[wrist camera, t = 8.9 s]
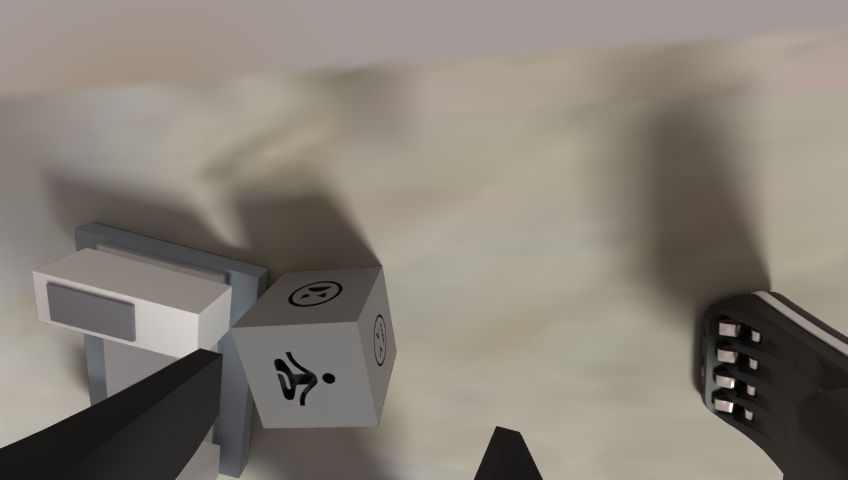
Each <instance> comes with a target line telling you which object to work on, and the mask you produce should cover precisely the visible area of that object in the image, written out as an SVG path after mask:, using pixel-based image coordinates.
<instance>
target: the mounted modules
mask: <svg viewBox="0 0 848 480" xmlns="http://www.w3.org/2000/svg"><path fill="white" fill-rule="evenodd" d="M32 274H33V281H34V288H35V295H36V302H37V309H38V316H39V321H40V322H44V323H48V324H51V325H55V326H59V327H63V328H67V329H70V330H74V331H78V332H82V333H86V334H89V335H93V336H97V337H101V338H105V339H108V340H112V341H116V342H120V343H124V344H128V345H131V346H135V347H139V348H143V349H147V350H150V351H154V352H158V353H162V354H166V355H169V356H173V357H177V358H183V357H184V356H186V355H188V354H190V353H192V352H194V351H196V350H198V349H199V348H202V349H206V350H210V349H211V348H212V347H213V346H214V345H215V344H216V343H217V342H218V341H219V340H220V339H221V337H222V336H223V335H224V334H225V333H226V332H227V331H228V330H229V321H230V308H231V294H232V286H230V285H226V284H222V283H218V282H214V281H211V280H207V279H203V278H199V277H195V276H192V275H188V274H184V273H180V272H176V271H173V270H169V269H165V268H161V267H157V266H154V265H150V264H146V263H142V262H139V261H135V260H131V259H127V258H123V257H120V256H116V255H112V254H108V253H104V252H101V251H97V250H93V249H89V248H85V249H83V250H80V251H78V252H75V253H73V254H71V255H68V256H66V257H63V258H61V259H59V260H56V261H54V262H51V263H49V264H47V265H44V266H42V267H40V268H37V269H35V270H32ZM219 459H220V446H219V445H216V444H212V443H208V442H204V441H203V442H202V443H201V445H200V446H199V448H198V450H197V451H196V453H195V454H194V456H193V457H192V458H191V460H190V461H189V462H188V464H187V465H186V466H185V468H184V469H183V470H182V472H181V473H180V474H179V475H178V477H177V478H176V479H175V480H216V479H217V477H218V473H219Z"/></svg>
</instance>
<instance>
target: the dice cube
mask: <svg viewBox="0 0 848 480" xmlns="http://www.w3.org/2000/svg"><path fill="white" fill-rule="evenodd" d="M231 331H232V334H233V337H234V340H235V343H236V346H237V349H238V352H239V355H240V358H241V361H242V364H243V367H244V371H245V374H246V377H247V380H248V383H249V386H250V389H251V392H252V395H253V398H254V401H255V404H256V407H257V410H258V413H259V416H260V419H261V422H262V425H263V428H321V427H378V425H379V421H380V417H381V413H382V409H383V405H384V401H385V397H386V393H387V389H388V385H389V381H390V377H391V373H392V369H393V365H394V361H395V357H396V353H397V352H396V345H395V339H394V333H393V327H392V321H391V315H390V309H389V303H388V297H387V291H386V285H385V279H384V272H383V266H373V267H358V268H344V269H329V270H314V271H300V272H285V273H284V274H283V275H282V276H281V277H280V278H279V279H278V280H277V281H276V282H275V283H274V284H273V285H272V286H271V287H270V288H269V289H268V290H267V291H266V292H265V293H264V294H263V295H262V296H261V297H260V298H259V299H258V300H257V301H256V302H255V303H254V304H253V305H252V306H251V308H250V309H249V310H248V311H247V312H246V313H245V314H244V315H243V316H242V317H241V318H240V319H239V320H238V321H237V322H236V323H235V324H234V325H233V326H232V327H231Z"/></svg>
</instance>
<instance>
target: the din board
mask: <svg viewBox="0 0 848 480" xmlns="http://www.w3.org/2000/svg"><path fill="white" fill-rule="evenodd" d="M75 238H76V248H77V252H78V251H80V250H83V249H85V248H89V249H93V250H97V251H101V252H104V253H108V254H112V255H116V256H120V257H123V258H127V259H131V260H135V261H139V262H142V263H146V264H150V265H154V266H157V267H161V268H165V269H169V270H173V271H176V272H180V273H184V274H188V275H192V276H195V277H199V278H203V279H207V280H211V281H214V282H218V283H222V284H226V285H230V286H232V294H231V308H230V321H229V330H228V331H227V332H226V333H225V334H224V335H223V336H222V337H221V339H220V340H219V341H218V342H217V343H216V344H215V345H214V346H213V347H212V348H211V349H210V350H209V351H213V352H217V353H221V354H223V366H222V380H221V395H220V410H219V415H218V417H217V418H216V420H215V422H214V423H213V425H212V427H211V429H210V430H209V432H208V434H207V435H206V437H205V438H204V440H203V441H204V442H208V443H212V444H216V445H219V446H220V459H219V473H220V474H224V475H228V476H232V477H236V478H239V477H240V475H241V473H242V472H243V470H244V468H245V466H246V465H247V460H248V451H249V442H250V433H251V424H252V415H253V406H254V398H253V395H252V392H251V389H250V386H249V383H248V380H247V377H246V374H245V371H244V367H243V364H242V361H241V358H240V355H239V352H238V349H237V346H236V343H235V340H234V337H233V334H232V331H231V327H232V326H233V325H234V324H235V323H236V322H237V321H238V320H239V319H240V318H241V317H242V316H243V315H244V314H245V313H246V312H247V311H248V310H249V309H250V308H251V306H252V305H253V304H254V303H255V302H256V301H257V300H258V299H259V298H260V297H261V296H262V295H263V294H264V293H265V292H266V287H267V278H268V268H264V267H260V266H256V265H252V264H249V263H245V262H241V261H237V260H233V259H230V258H226V257H222V256H218V255H214V254H211V253H207V252H203V251H199V250H196V249H192V248H188V247H184V246H180V245H177V244H173V243H169V242H165V241H161V240H158V239H154V238H150V237H146V236H143V235H139V234H135V233H131V232H127V231H124V230H120V229H116V228H112V227H108V226H105V225H101V224H97V223H90V224H87V225H85V226H82V227H79V228H76V229H75ZM84 336H85V347H86V358H87V369H88V380H89V390H90V401H91V406H93V405H95V404H97V403H99V402H101V401H103V400H105V399H107V398H109V397H110V396H112V395H114V394H116V393H118V392H120V391H122V390H124V389H126V388H127V387H129V386H131V385H133V384H135V383H137V382H139V381H141V380H142V379H144V378H146V377H148V376H150V375H152V374H153V373H155V372H157V371H159V370H161V369H163V368H164V367H166V366H168V365H170V364H172V363H173V362H175V361H177V360H179V359H181V358H177V357H173V356H169V355H166V354H162V353H158V352H154V351H150V350H147V349H143V348H139V347H135V346H131V345H128V344H124V343H120V342H116V341H112V340H108V339H105V338H101V337H97V336H93V335H89V334H86V333H84Z"/></svg>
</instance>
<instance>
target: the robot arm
mask: <svg viewBox="0 0 848 480" xmlns="http://www.w3.org/2000/svg"><path fill="white" fill-rule="evenodd" d="M222 366H223V354H221V353H217V352H213V351H209V350H206V349H202V348H199V349H198V350H196V351H194V352H192V353H190V354H188V355H186V356H184V357H183V358H181V359H179V360H177V361H175V362H173V363H172V364H170V365H168V366H166V367H164V368H163V369H161V370H159V371H157V372H155V373H153V374H152V375H150V376H148V377H146V378H144V379H142V380H141V381H139V382H137V383H135V384H133V385H131V386H129V387H127V388H126V389H124V390H122V391H120V392H118V393H116V394H114V395H112V396H110V397H109V398H107V399H105V400H103V401H101V402H99V403H97V404H95V405H93V406H91V407H89V408H87V409H85V410H83V411H81V412H79V413H77V414H75V415H73V416H70V417H68V418H66V419H64V420H62V421H60V422H58V423H56V424H54V425H52V426H50V427H48V428H46V429H44V430H41V431H39V432H37V433H35V434H33V435H30V436H28V437H26V438H24V439H21V440H19V441H17V442H15V443H12V444H10V445H8V446H5V447H3V448H1V449H0V480H175V479H176V478H177V477H178V475H179V474H180V473H181V472H182V470H183V469H184V468H185V466H186V465H187V464H188V462H189V461H190V460H191V458H192V457H193V456H194V454H195V453H196V451H197V450H198V448H199V446H200V445H201V443H202V442H203V440H204V438H205V437H206V435H207V434H208V432H209V430H210V429H211V427H212V425H213V423H214V422H215V420H216V418H217V417H218V415H219V410H220V395H221V380H222ZM474 480H543V479H542V477H541V475H540V473H539V471H538V469H537V466H536V464H535V462H534V460H533V458H532V456H531V454H530V452H529V450H528V448H527V446H526V444H525V441H524V439H523V437H522V435H521V434H520V432H517V431H514V430H510V429H506V428H502V427H498V426H496V428H495V431H494V433H493V436H492V438H491V440H490V443H489V445H488V447H487V450H486V452H485V454H484V457H483V459H482V462H481V464H480V466H479V469H478V471H477V473H476V476H475V478H474Z"/></svg>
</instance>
